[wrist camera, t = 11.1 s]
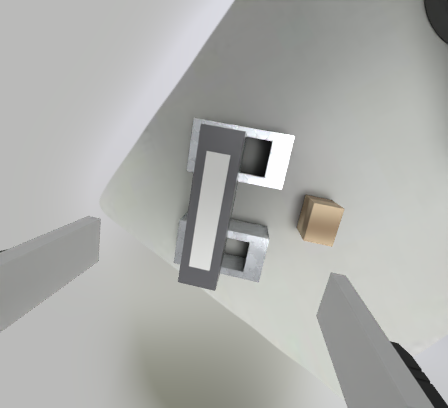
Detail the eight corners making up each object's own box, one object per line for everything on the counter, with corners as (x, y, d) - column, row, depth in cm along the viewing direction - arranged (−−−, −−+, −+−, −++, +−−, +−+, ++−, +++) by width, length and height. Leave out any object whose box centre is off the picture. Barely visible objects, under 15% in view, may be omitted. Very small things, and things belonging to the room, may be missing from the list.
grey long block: (214, 129, 31) (200, 123, 23) (247, 135, 31) (245, 131, 23) (194, 252, 36) (177, 283, 28) (223, 258, 35) (214, 291, 27)
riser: (305, 194, 33) (314, 202, 29) (331, 199, 33) (344, 208, 28) (296, 227, 35) (303, 240, 30) (321, 232, 34) (332, 246, 30)
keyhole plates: (202, 121, 33) (193, 117, 28) (288, 137, 32) (294, 135, 27) (184, 247, 38) (173, 262, 33) (257, 264, 37) (258, 282, 32)
